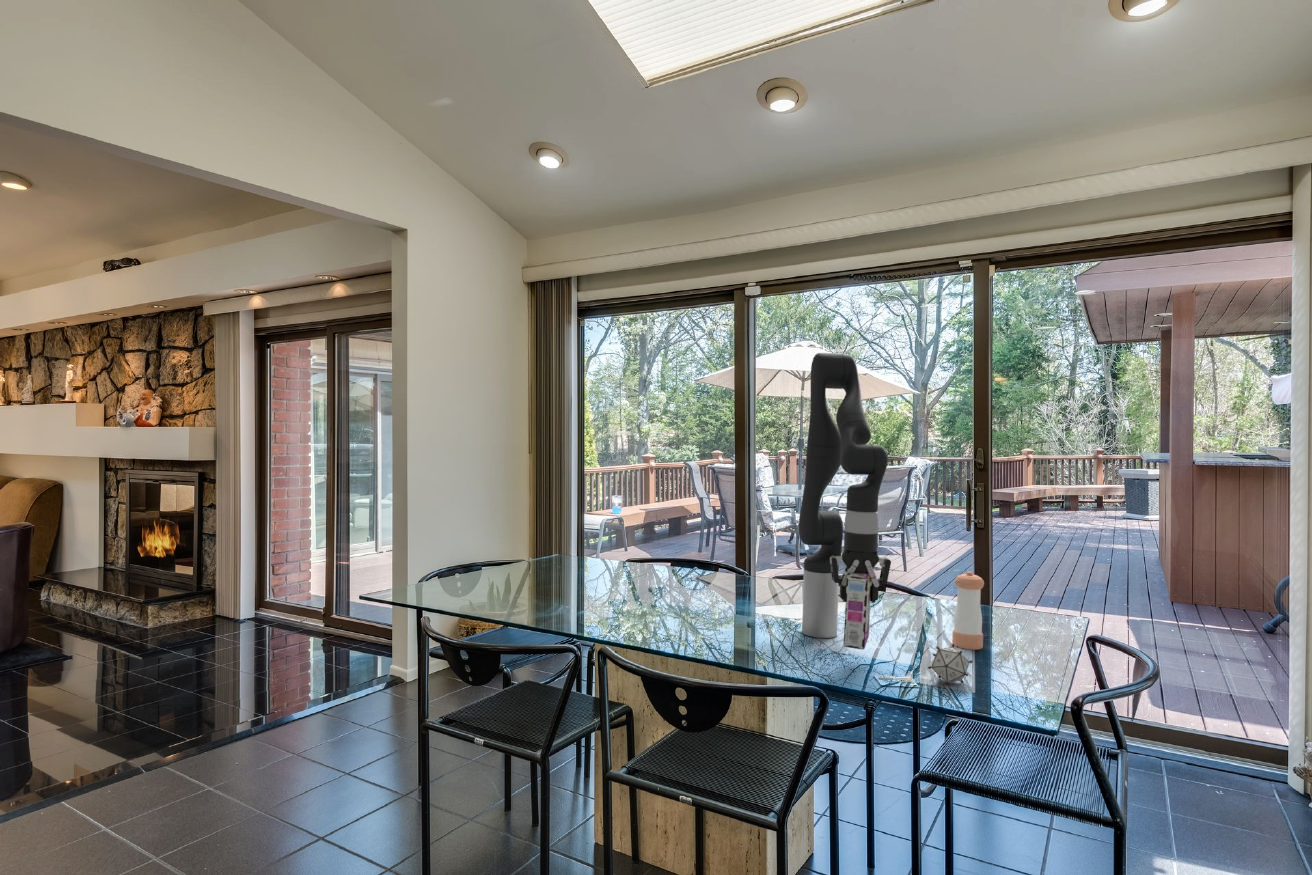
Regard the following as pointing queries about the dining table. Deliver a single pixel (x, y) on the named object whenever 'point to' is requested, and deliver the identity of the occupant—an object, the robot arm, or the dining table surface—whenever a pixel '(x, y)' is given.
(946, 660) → the game die
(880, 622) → the dining table surface
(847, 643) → the candy bar box
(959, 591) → the pepper shaker
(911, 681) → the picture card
